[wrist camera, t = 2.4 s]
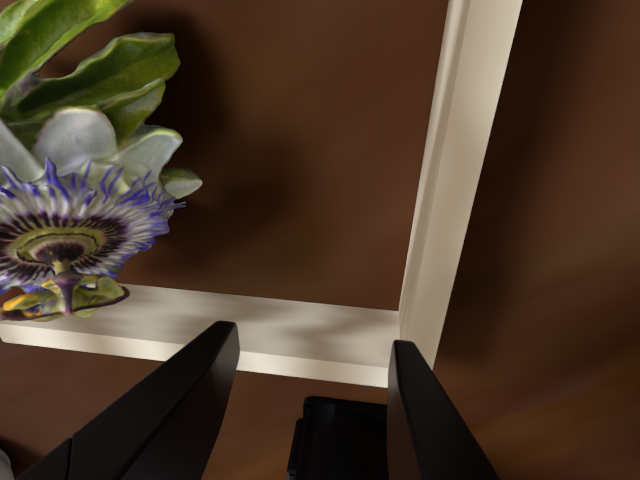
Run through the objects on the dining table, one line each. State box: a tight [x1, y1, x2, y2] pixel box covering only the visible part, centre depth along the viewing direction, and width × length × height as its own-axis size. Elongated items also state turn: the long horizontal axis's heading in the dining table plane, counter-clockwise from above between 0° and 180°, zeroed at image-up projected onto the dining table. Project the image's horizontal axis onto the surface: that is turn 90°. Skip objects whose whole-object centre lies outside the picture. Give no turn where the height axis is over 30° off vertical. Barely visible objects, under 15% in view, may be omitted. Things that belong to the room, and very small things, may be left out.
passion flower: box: [0, 0, 202, 322], centre depth 17 cm, size 13×12×13 cm
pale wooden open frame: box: [0, 0, 523, 388], centre depth 18 cm, size 24×23×4 cm
